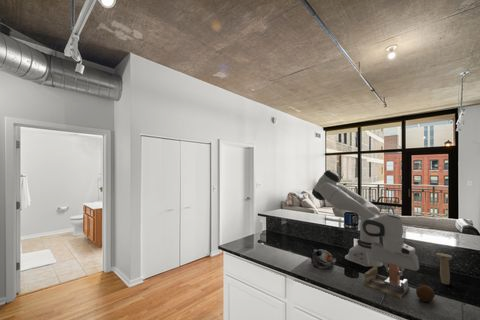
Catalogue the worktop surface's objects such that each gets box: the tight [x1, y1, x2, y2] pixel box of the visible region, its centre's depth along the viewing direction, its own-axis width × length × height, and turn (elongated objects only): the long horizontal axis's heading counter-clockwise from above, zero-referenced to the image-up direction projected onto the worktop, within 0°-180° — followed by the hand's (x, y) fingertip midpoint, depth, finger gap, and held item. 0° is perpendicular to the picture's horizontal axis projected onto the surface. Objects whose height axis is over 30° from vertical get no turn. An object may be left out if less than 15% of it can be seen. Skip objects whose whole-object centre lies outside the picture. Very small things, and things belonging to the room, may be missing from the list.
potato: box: [415, 284, 436, 303], centre depth 106 cm, size 7×12×7 cm, turn 137°
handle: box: [435, 252, 453, 285], centre depth 121 cm, size 5×6×15 cm
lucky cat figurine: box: [310, 248, 337, 270], centre depth 143 cm, size 15×12×14 cm
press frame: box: [364, 266, 410, 299], centre depth 118 cm, size 16×13×6 cm
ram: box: [384, 263, 409, 293], centre depth 115 cm, size 8×7×12 cm
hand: (394, 273), depth 115 cm, fingers closed on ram, 4 cm apart
